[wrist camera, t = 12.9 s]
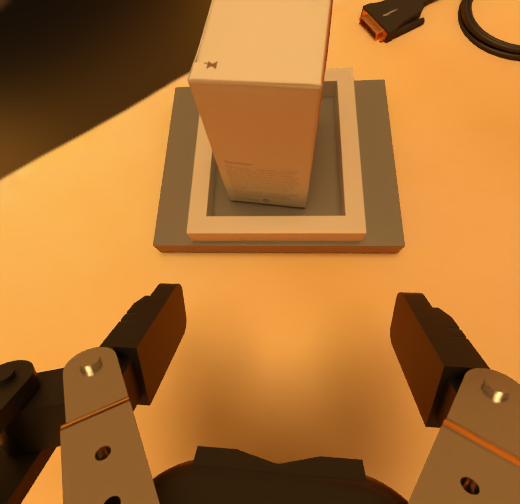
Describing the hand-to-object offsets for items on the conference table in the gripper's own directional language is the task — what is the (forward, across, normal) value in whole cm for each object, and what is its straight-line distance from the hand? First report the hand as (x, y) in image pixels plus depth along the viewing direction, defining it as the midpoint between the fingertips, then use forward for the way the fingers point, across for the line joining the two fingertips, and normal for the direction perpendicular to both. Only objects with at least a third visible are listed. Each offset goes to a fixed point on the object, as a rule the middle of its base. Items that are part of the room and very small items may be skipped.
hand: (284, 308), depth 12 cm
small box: (+14, +1, -3) cm, 15 cm away
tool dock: (+15, +1, -2) cm, 16 cm away
